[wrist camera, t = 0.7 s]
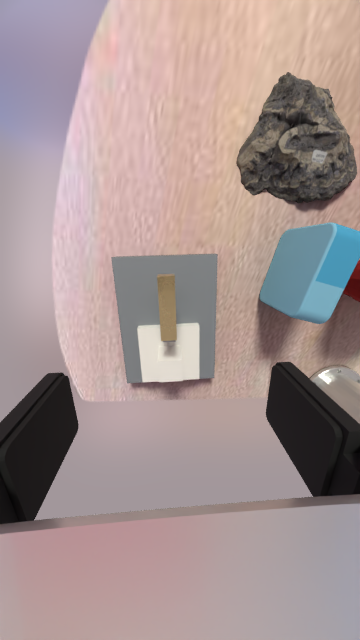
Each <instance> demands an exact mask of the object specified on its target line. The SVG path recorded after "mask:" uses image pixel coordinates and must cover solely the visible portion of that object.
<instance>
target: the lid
mask: <svg viewBox="0 0 360 640" xmlns="http://www.w3.org/2000/svg"><path fill="white" fill-rule="evenodd" d="M176 327H177V340H176V342H163V341H161V332H160V325H143V326H138V328H137V331H138V341H139V352H140V362H141V372H142V382H158V381H159V382H174V381H183V380H190V379H199V324H198V323H185V324H176Z"/></svg>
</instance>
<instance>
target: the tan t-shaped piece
mask: <svg viewBox="0 0 360 640" xmlns="http://www.w3.org/2000/svg"><path fill="white" fill-rule="evenodd" d="M157 284H158V300H159V316H160V332H161V341H163V342H176V340H177V327H176V299H175V275H174V274H158V275H157Z"/></svg>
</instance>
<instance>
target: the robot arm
mask: <svg viewBox="0 0 360 640" xmlns="http://www.w3.org/2000/svg"><path fill="white" fill-rule="evenodd" d="M266 417H267V420H268V422H269V423H270V425H271V427H272V428H273V430H274V432H275V433H276V435H277V437H278V439H279V440H280V442H281V444H282V445H283V447H284V448H285V450H286V452H287V454H288V455H289V457H290V459H291V460H292V462H293V464H294V465H295V467H296V469H297V470H298V472H299V474H300V475H301V477H302V479H303V480H304V482H305V484H306V485H307V487H308V489H309V490H310V492H311V494H312V495H313V497H305V498H292V499H279V500H266V501H253V502H240V503H228V504H215V505H204V506H192V507H180V508H167V509H155V510H144V511H132V512H121V513H111V514H99V515H88V516H76V517H65V518H54V519H44V520H35V521H34V519H35V517H36V515H37V513H38V511H39V509H40V507H41V505H42V503H43V501H44V499H45V497H46V495H47V493H48V491H49V489H50V487H51V485H52V482H53V480H54V478H55V476H56V474H57V472H58V470H59V468H60V466H61V464H62V462H63V460H64V457H65V456H66V454H67V452H68V450H69V448H70V446H71V444H72V442H73V439H74V437H75V435H76V433H77V431H78V420H77V416H76V411H75V406H74V402H73V397H72V392H71V388H70V382H69V378H68V376H65V375H64V374H63V373H48V374H47V375H46V376H45V377H44V378H43V379H42V380H41V381H40V382H39V383H38V384H37V385H36V386H35V387H34V388H33V389H32V390H31V391H30V392H29V393H28V394H27V395H26V396H25V398H24V399H22V401H21V402H20V403H19V404H18V405H17V406H16V407H15V408H14V409H13V410H12V411H11V412H10V413H9V414H8V415H7V416H6V417H5V418H4V419H3V420H2V421H1V422H0V640H360V376H359V375H358V374H357V373H356V372H355V371H354V370H352V369H351V368H348V367H346V366H330V367H327V368H324V369H322V370H320V371H318V372H317V373H315V374H314V375H313V376H312V377H311V378H310V379H309V378H308V377H307V376H306V375H305V374H304V373H302V372H301V371H300V370H299V369H298V368H297V367H296V366H295V365H293V364H292V363H291V362H278V363H276V365H275V366H273V367H272V372H271V379H270V387H269V394H268V401H267V409H266Z"/></svg>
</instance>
